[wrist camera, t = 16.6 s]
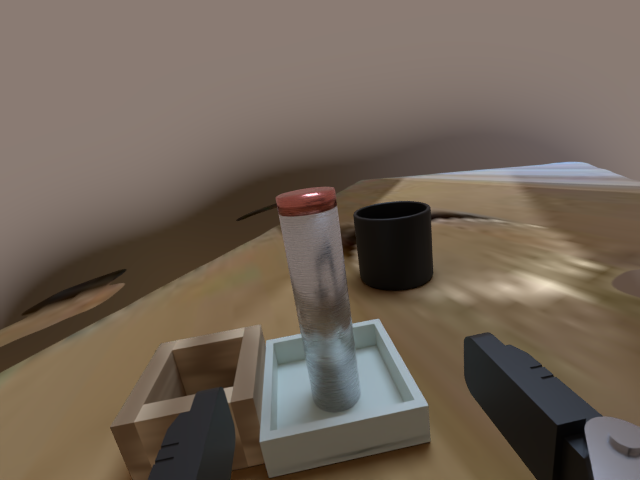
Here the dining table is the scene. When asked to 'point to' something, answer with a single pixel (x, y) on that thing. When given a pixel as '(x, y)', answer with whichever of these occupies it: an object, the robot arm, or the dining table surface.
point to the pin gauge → (321, 295)
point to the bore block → (180, 388)
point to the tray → (340, 427)
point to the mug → (394, 244)
